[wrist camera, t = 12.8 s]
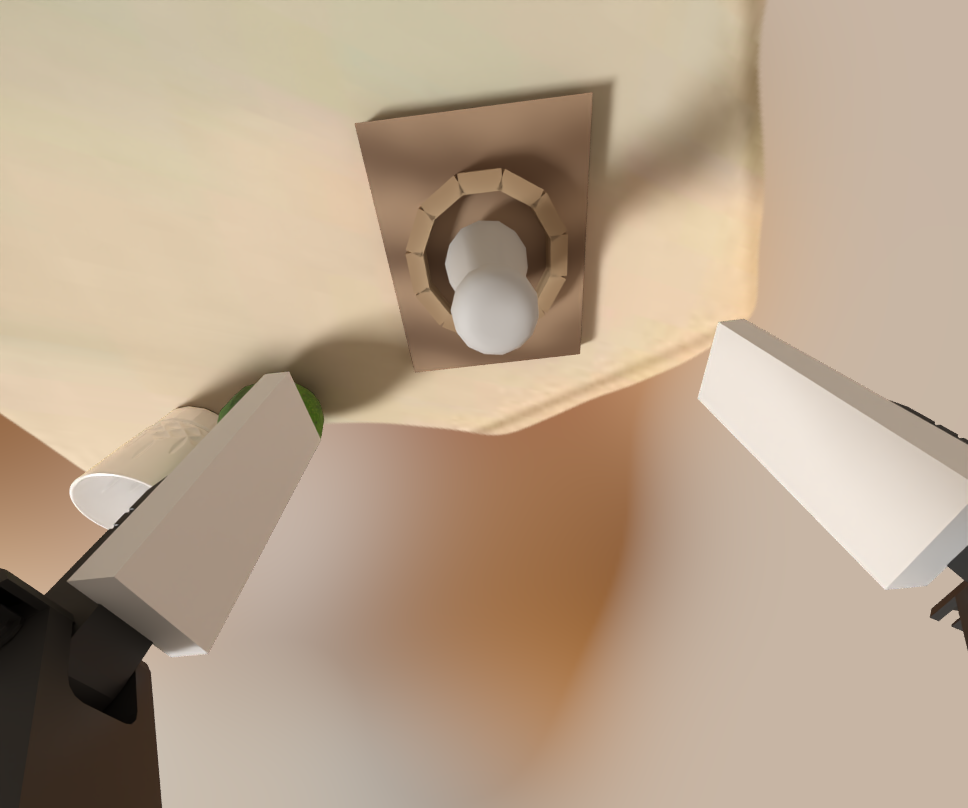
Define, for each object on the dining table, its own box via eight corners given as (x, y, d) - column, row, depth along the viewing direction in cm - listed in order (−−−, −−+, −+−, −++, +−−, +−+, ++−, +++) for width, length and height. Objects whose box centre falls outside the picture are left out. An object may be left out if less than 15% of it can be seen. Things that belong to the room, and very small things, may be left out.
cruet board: (360, 125, 24) (345, 120, 21) (586, 95, 24) (602, 86, 21) (416, 364, 34) (412, 383, 31) (575, 346, 34) (586, 364, 31)
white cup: (240, 468, 40) (181, 547, 32) (159, 446, 38) (74, 524, 30) (249, 417, 37) (185, 491, 28) (160, 389, 34) (62, 460, 26)
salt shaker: (439, 224, 26) (418, 267, 15) (517, 207, 26) (553, 239, 15) (457, 302, 29) (450, 383, 18) (526, 288, 29) (562, 363, 18)
